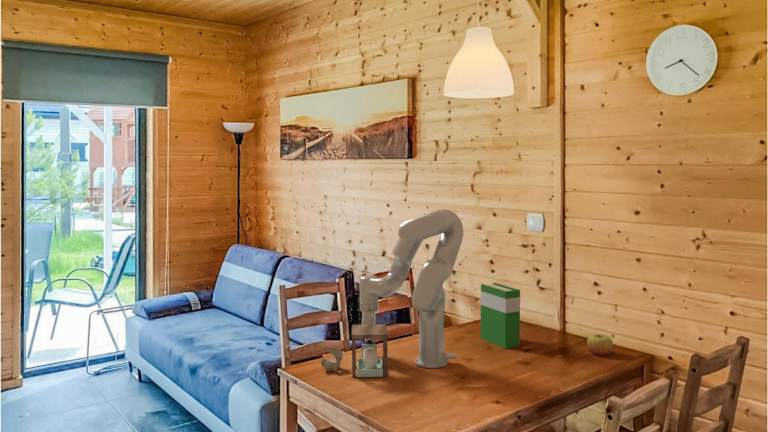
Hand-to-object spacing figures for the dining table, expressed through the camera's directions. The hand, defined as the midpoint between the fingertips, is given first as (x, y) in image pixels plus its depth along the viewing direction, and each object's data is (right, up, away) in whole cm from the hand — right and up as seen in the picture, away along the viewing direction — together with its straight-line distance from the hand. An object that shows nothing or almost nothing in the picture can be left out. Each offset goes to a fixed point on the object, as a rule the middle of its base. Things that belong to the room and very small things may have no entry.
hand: (369, 351), depth 249 cm
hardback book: (+56, 0, +18) cm, 58 cm away
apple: (+93, -1, +1) cm, 93 cm away
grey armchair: (0, -3, -14) cm, 14 cm away
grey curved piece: (-13, -4, -17) cm, 22 cm away
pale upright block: (+1, -2, -19) cm, 19 cm away
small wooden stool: (+1, -4, -18) cm, 19 cm away
